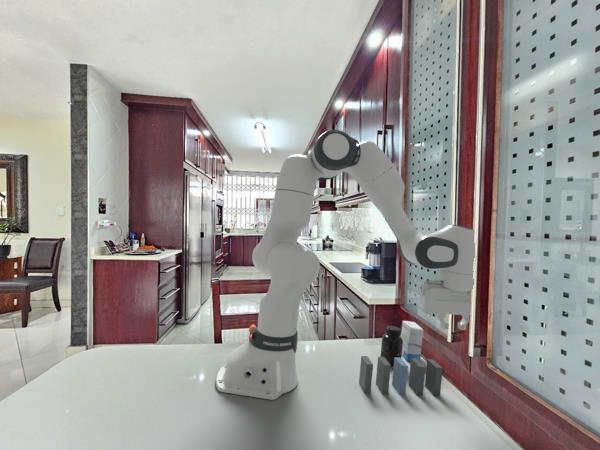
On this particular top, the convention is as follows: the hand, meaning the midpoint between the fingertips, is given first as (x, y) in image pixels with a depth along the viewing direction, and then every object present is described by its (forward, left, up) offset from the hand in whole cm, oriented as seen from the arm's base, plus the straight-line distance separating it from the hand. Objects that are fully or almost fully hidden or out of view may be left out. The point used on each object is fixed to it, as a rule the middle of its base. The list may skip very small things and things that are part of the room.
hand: (452, 329), depth 84 cm
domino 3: (-15, 0, -18) cm, 23 cm away
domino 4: (-10, 0, -18) cm, 21 cm away
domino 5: (-5, 0, -18) cm, 19 cm away
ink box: (-1, +22, -18) cm, 28 cm away
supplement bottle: (-11, +16, -18) cm, 27 cm away
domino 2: (-20, 0, -18) cm, 27 cm away
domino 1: (-25, 0, -18) cm, 31 cm away
